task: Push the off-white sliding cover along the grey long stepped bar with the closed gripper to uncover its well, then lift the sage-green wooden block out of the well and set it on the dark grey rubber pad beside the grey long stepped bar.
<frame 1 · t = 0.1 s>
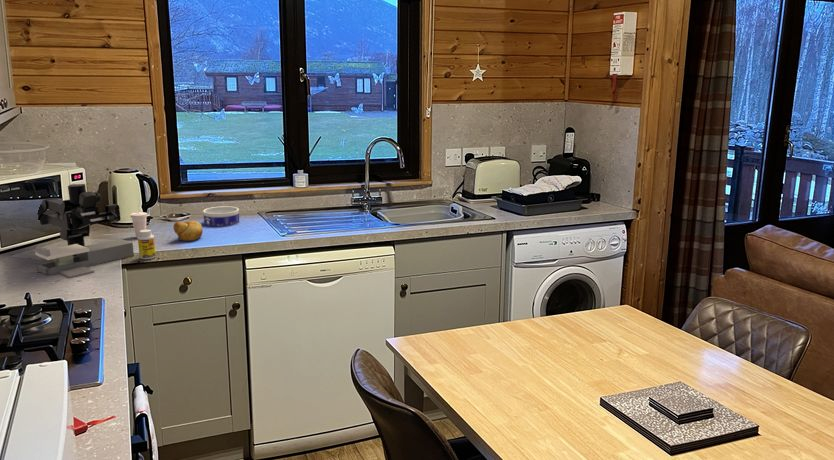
hand: (104, 220, 236), 17 cm above the table, tool horizontal, fingers open, 9 cm apart
block: (64, 268, 238), resting in grey long stepped bar
pad: (77, 272, 232), on the table
supplement bottle: (148, 258, 250), on the table
smoothie: (141, 237, 280), on the table
grey long stepped bar: (90, 261, 245), on the table
cover: (62, 248, 237), point 7 cm above the table, slide at 0.0 cm
dog bowl: (222, 223, 304), on the table
bread roll: (191, 238, 277), on the table
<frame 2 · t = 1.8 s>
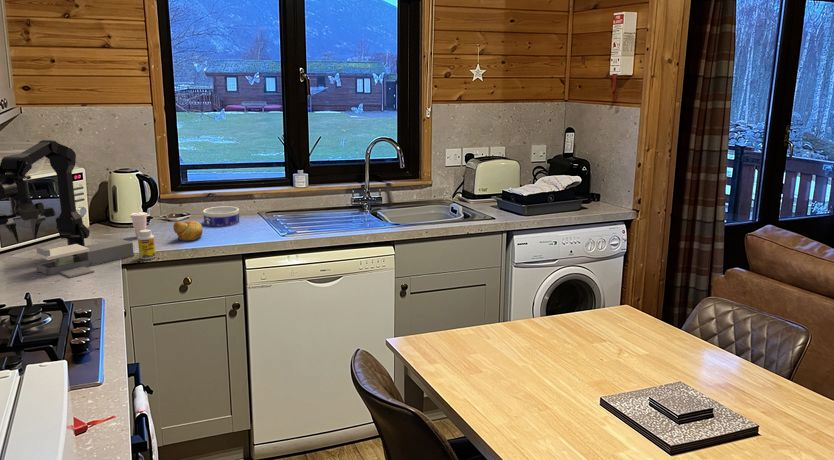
hand: (26, 240, 227), 12 cm above the table, tool pointing down, fingers open, 5 cm apart
nothing on the table moved.
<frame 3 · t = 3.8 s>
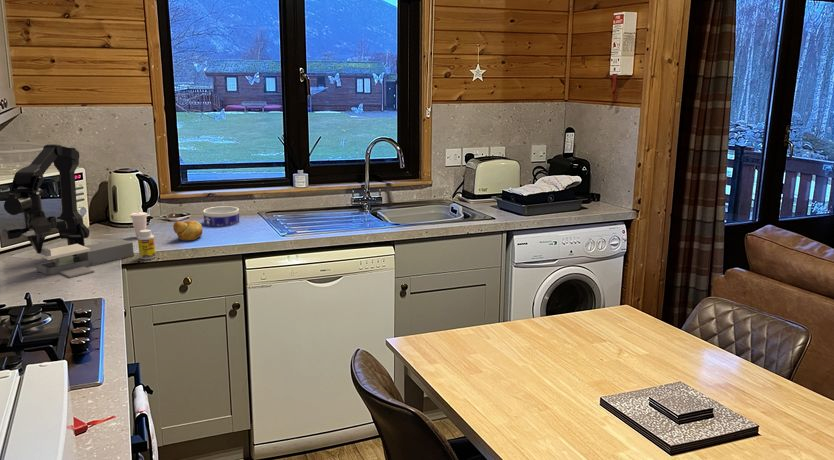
hand: (38, 253, 231), 7 cm above the table, tool pointing down, fingers closed
cover: (62, 248, 237), point 7 cm above the table, slide at 0.2 cm, touching gripper
everything else where it was.
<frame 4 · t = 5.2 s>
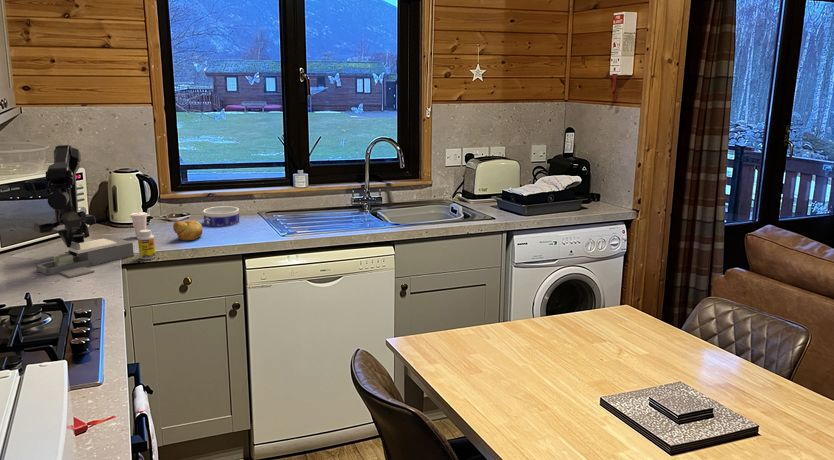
hand: (68, 247, 238), 7 cm above the table, tool pointing down, fingers closed
cover: (91, 243, 244), point 7 cm above the table, slide at 10.1 cm, touching gripper
everything else where it was.
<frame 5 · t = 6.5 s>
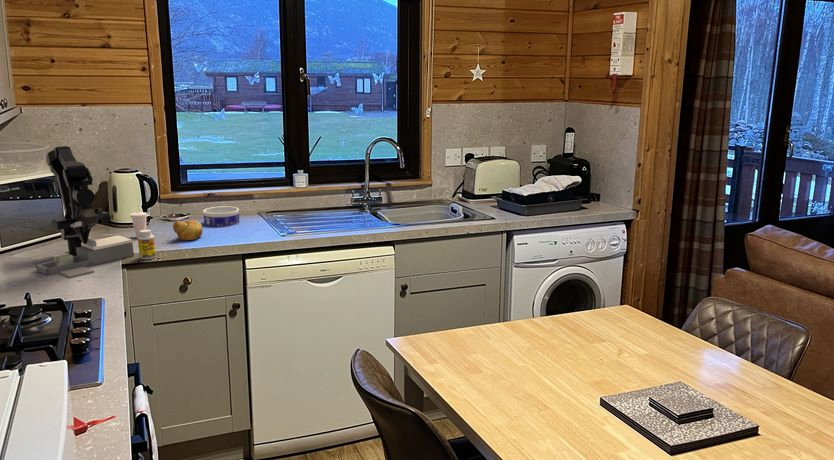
hand: (84, 243, 242), 7 cm above the table, tool pointing down, fingers closed
cover: (106, 239, 248), point 7 cm above the table, slide at 15.7 cm, touching gripper
everything else where it was.
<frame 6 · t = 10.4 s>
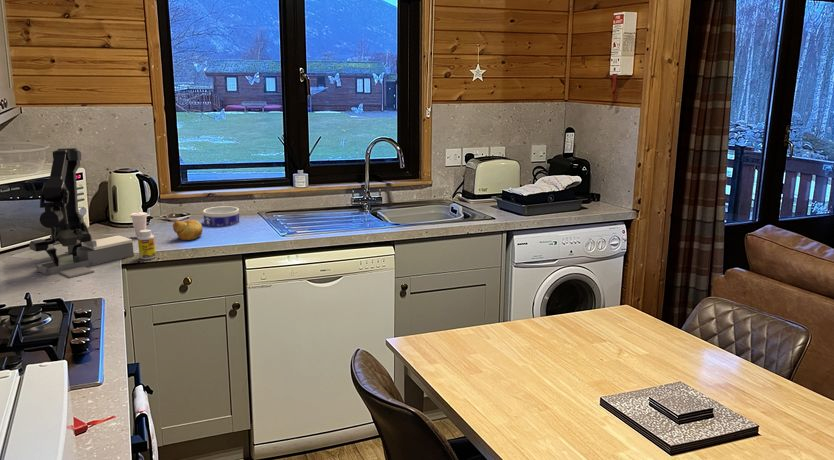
hand: (64, 264, 238), 1 cm above the table, tool pointing down, fingers closed on block, 4 cm apart
block: (64, 267, 238), resting in grey long stepped bar, touching gripper
cover: (106, 239, 248), point 7 cm above the table, slide at 15.7 cm
when the fingers open (3 cm above the table, at t = 14.4 s): block drops 1 cm, resting on pad.
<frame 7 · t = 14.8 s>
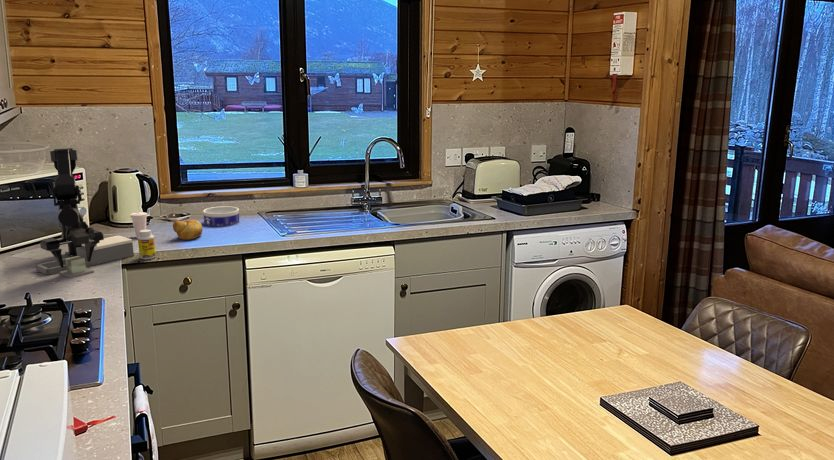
hand: (75, 264, 232), 3 cm above the table, tool pointing down, fingers open, 9 cm apart
block: (76, 271, 232), point 1 cm above the table, touching pad
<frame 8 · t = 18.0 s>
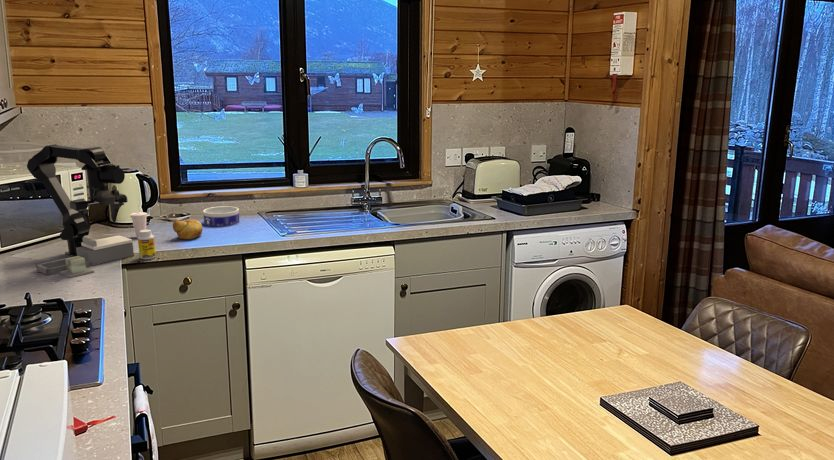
hand: (101, 224, 249), 12 cm above the table, tool pointing down, fingers open, 9 cm apart
at the end: cover slide at 15.7 cm; block 0.0 cm from the target spot, point 0.6 cm above the table; block tilted 0° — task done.
